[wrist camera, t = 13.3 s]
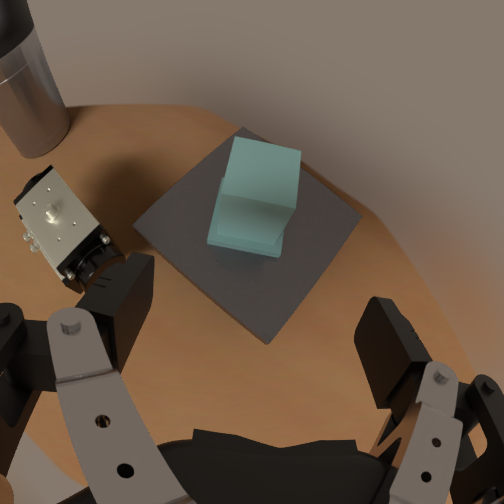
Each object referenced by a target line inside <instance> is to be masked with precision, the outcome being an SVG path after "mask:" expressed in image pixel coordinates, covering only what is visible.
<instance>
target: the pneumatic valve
mask: <svg viewBox="0 0 504 504" xmlns="http://www.w3.org/2000/svg"><path fill="white" fill-rule="evenodd" d="M13 202H14V204H15V206H16V207H17V209H18V211H19V213H20V216H19V217H20V219H21V220H22V222H23V224H24V225H25V227H26V229H27V234H26V233H24V234H23V238H24V239H25V240H26V241H27V242H29V241H30V240H31V239H30V237H31V238H33V240H34V242H33V243H34V245H33V244H31V245H30V249H31V250H32V251H33V252H34V253H36V252H37V251H38V250H37V248H38V249H40V251H41V252H42V253H43V255H44V256H45V258H46V259H47V261H48V262H49V264H50V265H51V267H52V268H53V269H54V271H55V272H56V274H57V275H58V276H59V278H60V279H61V280H62V282H63V283H64V284H65V286H66V287H68V288H70V289H72V290H73V291H75V292H77V293H79V294H81V293H82V292H83V291H84V292H85V293H86V292H87V291H88V290H89V288H90V287H91V286H92V285H93V284H94V282H95V281H96V280H97V278H99V276H100V275H101V274H102V272H103V271H104V270H105V269H106V268H108V267H109V266H111V265H113V264H115V263H121V264H124V263H125V261H126V258H125V255H124V254H123V253H122V251H121V250H120V249H119V247H118V246H117V245H116V243H115V242H114V241H113V239H112V238H111V237H110V235H109V234H108V233H107V231H106V230H105V229H104V228H103V227H102V225H101V224H100V223H99V222H98V221H97V220H96V219H95V217H94V216H93V215H92V214H91V213H90V212H89V210H88V209H87V208H86V207H85V206H84V205H83V203H82V202H81V201H80V200H79V199H78V197H77V196H76V195H75V194H74V193H73V191H72V190H71V189H70V188H69V186H68V185H67V184H66V183H65V181H64V180H63V179H62V178H61V176H60V175H59V174H58V173H57V171H56V170H55V169H54V167H53V166H52V165H50V166H49V167H48V168H46V169H45V170H44V171H43V172H42V173H39V174H37V175H35V176H34V177H33V178H31V179H30V180H29V181H28V183H27V184H26V185H25V187H24V189H23V192H22V193H21V194H20V195H19V196H18V197H17V198H16V199H15V200H14V201H13Z"/></svg>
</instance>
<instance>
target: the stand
mask: <svg viewBox="0 0 504 504" xmlns="http://www.w3.org/2000/svg"><path fill="white" fill-rule="evenodd" d="M235 136H236V137H241V138H246V139H251V140H256V141H261V142H265V141H263V140H262V139H261V138H259V137H258V136H256V135H255V134H253V133H252V132H250V131H249V130H247V129H246V128H244V127H242V128H241V129H240V130H238V131H237V132H236V133H235V134H233V135H232V136H231V137H230V138H228V139H227V140H226V141H225V142H223V143H222V144H221V145H220V146H219V147H217V148H216V149H215V150H214V151H213V152H211V153H210V154H209V155H208V156H207V157H205V158H204V159H203V160H202V161H201V162H200V163H198V164H197V165H196V166H195V167H194V168H193V169H191V170H190V171H189V172H188V173H187V174H186V175H185V176H184V177H182V178H181V179H180V180H179V181H178V182H177V183H176V184H175V185H174V186H172V187H171V188H170V189H169V190H168V191H167V192H166V193H165V194H164V195H163V196H162V197H161V198H159V199H158V200H157V201H156V202H155V203H154V204H153V205H152V206H151V207H150V208H149V209H148V210H147V211H146V212H145V213H144V214H143V215H142V216H141V217H140V218H139V219H138V220H137V221H136V222H135V223H134V224H133V225H132V227H133V229H134V230H135V232H136V233H137V234H138V235H139V236H140V237H141V238H142V239H143V240H144V241H145V242H147V243H148V244H149V245H150V246H151V247H152V248H153V249H154V250H155V251H156V252H157V253H158V254H160V255H161V256H162V257H163V258H164V259H165V260H166V261H167V262H168V263H169V264H171V265H172V266H173V267H174V268H175V269H176V270H177V271H178V272H180V273H181V274H182V275H183V276H184V277H185V278H186V279H187V280H189V281H190V282H191V283H192V284H193V285H194V286H195V287H197V288H198V289H199V290H200V291H201V292H202V293H204V294H205V295H206V296H207V297H208V298H209V299H211V300H212V301H213V302H214V303H215V304H216V305H218V306H219V307H220V308H221V309H222V310H224V311H225V312H226V313H227V314H228V315H230V316H231V317H232V318H233V319H234V320H236V321H237V322H238V323H239V324H240V325H242V326H243V327H244V328H245V329H247V330H248V331H249V332H250V333H251V334H253V335H254V336H255V337H256V338H258V339H259V340H260V341H261V342H263V343H264V344H265V345H266V344H269V343H270V342H271V341H272V340H273V338H274V337H275V336H276V335H277V333H278V332H279V331H280V329H281V328H282V327H283V326H284V324H285V323H286V322H287V320H288V319H289V318H290V317H291V315H292V314H293V313H294V311H295V310H296V309H297V307H298V306H299V305H300V303H301V302H302V301H303V299H304V298H305V297H306V295H307V294H308V293H309V291H310V290H311V289H312V287H313V286H314V285H315V283H316V282H317V280H318V279H319V278H320V276H321V275H322V274H323V272H324V271H325V269H326V268H327V267H328V265H329V264H330V262H331V261H332V260H333V258H334V257H335V255H336V254H337V252H338V251H339V250H340V248H341V247H342V245H343V244H344V242H345V241H346V240H347V238H348V237H349V235H350V234H351V232H352V231H353V229H354V228H355V226H356V225H357V223H358V222H359V220H360V219H361V217H362V216H361V215H360V214H359V213H358V212H357V211H355V210H354V209H353V208H352V207H351V206H349V205H348V204H347V203H346V202H344V201H343V200H342V199H341V198H340V197H338V196H337V195H336V194H335V193H333V192H332V191H331V190H330V189H328V188H327V187H326V186H324V185H323V184H322V183H321V182H319V181H318V180H317V179H315V178H314V177H313V176H312V175H310V174H309V173H308V172H306V171H305V170H304V169H302V168H301V167H300V171H299V182H298V192H297V201H296V209H295V211H294V213H293V214H292V216H291V218H290V219H289V221H288V223H287V224H286V226H285V228H284V235H283V242H282V250H281V255H280V256H279V258H277V257H272V256H266V255H261V254H256V253H251V252H246V251H241V250H236V249H231V248H226V247H221V246H216V245H211V244H207V238H208V234H209V230H210V225H211V221H212V217H213V213H214V208H215V204H216V200H217V196H218V192H219V188H220V184H221V180H222V177H224V178H225V173H226V169H227V165H228V162H229V158H230V154H231V150H232V146H233V142H234V138H235ZM265 143H266V142H265Z"/></svg>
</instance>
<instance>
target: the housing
mask: <svg viewBox="0 0 504 504" xmlns="http://www.w3.org/2000/svg"><path fill="white" fill-rule="evenodd" d="M300 161H301V151H299V150H295V149H291V148H287V147H283V146H278V145H274V144H270V143H265V142H261V141H256V140H251V139H246V138H241V137H236V136H235V138H234V142H233V146H232V150H231V154H230V158H229V162H228V165H227V169H226V173H225V178H224V177H222V180H221V184H220V188H219V192H218V196H217V200H216V204H215V208H214V213H213V217H212V221H211V225H210V230H209V234H208V238H207V244H211V245H216V246H221V247H226V248H231V249H236V250H241V251H246V252H251V253H256V254H261V255H266V256H272V257H277V258H279V256H280V255H281V250H282V242H283V235H284V228H285V226H286V224H287V223H288V221H289V219H290V218H291V216H292V214H293V213H294V211H295V209H296V201H297V192H298V182H299V171H300Z"/></svg>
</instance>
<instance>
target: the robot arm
mask: <svg viewBox="0 0 504 504" xmlns="http://www.w3.org/2000/svg"><path fill="white" fill-rule="evenodd" d="M0 125H1V126H2V128H3V129H4V131H5V132H6V133H7V135H8V136H9V138H10V139H11V141H12V142H13V144H14V145H15V146H16V148H17V149H18V151H19V152H20V153H21V155H23V156H24V157H27V158H35V157H39V156H41V155H43V154H45V153H47V152H49V151H50V150H52V149H53V148H54V147H55V146H57V145H58V144H59V143H60V142H61V140H62V139H63V138H64V136H65V135H66V133H67V131H68V129H69V126H70V117H69V114H68V112H67V110H66V108H65V105H64V103H63V101H62V98H61V96H60V93H59V91H58V88H57V86H56V83H55V81H54V79H53V76H52V73H51V71H50V68H49V66H48V63H47V60H46V57H45V55H44V52H43V49H42V46H41V43H40V41H39V38H38V35H37V32H36V29H35V26H34V23H33V20H32V17H31V14H30V11H29V7H28V4H27V0H0ZM153 281H154V256H151V255H146V254H141V253H137V252H133V253H132V254H131V255H130V256H129V257H128V259H127V260H126V261H125V263H124V264H121V263H115V264H113V265H111V266H109V267H108V268H106V269H105V270H104V271H103V272H102V274H101V275H100V276H99V278H97V280H96V281H95V282H94V284H93V285H92V286H91V287H90V288H89V290H88V291H87V292H86V293H85V295H84V296H83V297H82V298H81V300H80V301H79V302H78V304H77V305H76V306H75V307H70V308H64V309H61V310H58V311H56V312H55V313H53V314H52V315H51V316H50V318H49V319H48V321H37V320H25V319H24V316H23V312H22V310H21V308H20V307H19V306H17V305H16V304H13V303H0V375H1V374H2V375H1V376H0V504H14V503H13V502H14V495H13V490H12V487H11V485H10V483H9V482H8V480H7V479H6V476H7V473H8V470H9V467H10V464H11V462H12V459H13V457H14V454H15V451H16V449H17V446H18V444H19V441H20V439H21V437H22V434H23V432H24V429H25V427H26V425H27V423H28V420H29V418H30V416H31V414H32V411H33V409H34V407H35V405H36V403H37V401H38V399H39V396H40V394H41V392H42V391H49V392H57V394H58V398H59V401H60V405H61V409H62V412H63V416H64V419H65V423H66V426H67V429H68V432H69V435H70V438H71V441H72V444H73V447H74V450H75V453H76V455H77V458H78V461H79V463H80V466H81V468H82V471H83V473H84V476H85V478H86V480H87V483H88V485H89V486H88V487H86V488H85V489H83V490H81V491H79V492H78V493H76V494H74V495H72V496H70V497H69V498H67V499H65V500H63V501H61V502H59V503H57V504H445V503H446V500H447V496H448V493H449V490H450V494H451V498H452V502H453V504H504V395H503V393H502V391H501V389H500V388H499V386H498V384H497V383H496V382H495V381H494V380H493V379H492V378H490V377H488V376H486V375H482V374H481V375H477V376H476V377H475V379H474V380H473V381H472V382H471V384H466V383H462V382H458V378H457V376H456V374H455V373H454V371H453V370H452V369H451V368H450V367H448V366H447V365H445V364H443V363H441V362H437V361H433V360H432V359H431V357H430V355H429V353H428V352H427V350H426V348H425V347H424V345H423V343H422V342H421V340H420V339H419V337H418V335H417V333H416V332H414V331H415V330H414V328H413V327H412V325H411V323H410V322H409V321H408V320H407V319H406V318H405V317H404V316H403V315H402V314H401V313H400V311H399V310H398V308H397V307H396V305H395V304H394V302H393V301H392V300H391V299H388V298H381V297H375V296H374V297H372V298H371V299H370V300H369V302H368V304H367V306H366V309H365V311H364V313H363V315H362V317H361V319H360V321H359V323H358V325H357V328H356V330H355V334H354V343H355V346H356V349H357V352H358V354H359V357H360V360H361V363H362V365H363V368H364V371H365V374H366V377H367V380H368V383H369V385H370V388H371V391H372V394H373V397H374V400H375V403H376V406H377V409H389V408H390V409H391V413H390V414H389V415H388V416H387V418H386V420H385V422H384V424H383V426H382V429H381V431H380V433H379V435H378V437H377V439H376V441H375V443H374V445H373V447H372V449H371V451H370V452H369V454H368V453H365V452H361V451H358V450H357V446H356V441H355V440H319V441H315V442H310V443H306V444H301V445H296V446H291V447H285V448H277V447H273V446H270V445H266V444H263V443H260V442H256V441H253V440H250V439H247V438H244V437H241V436H238V435H232V434H225V433H218V432H211V431H205V430H199V429H194V431H193V437H192V439H189V440H177V441H171V442H167V443H163V444H160V445H157V446H156V445H155V443H154V441H153V439H152V437H151V436H150V434H149V432H148V430H147V428H146V427H145V425H144V423H143V421H142V419H141V417H140V415H139V413H138V411H137V409H136V407H135V405H134V403H133V401H132V399H131V397H130V395H129V393H128V391H127V389H126V386H125V384H124V382H123V380H122V378H121V375H120V374H121V372H122V370H123V367H124V365H125V363H126V360H127V358H128V356H129V354H130V351H131V349H132V347H133V345H134V342H135V340H136V338H137V336H138V334H139V331H140V329H141V327H142V325H143V323H144V321H145V319H146V316H147V314H148V312H149V310H150V307H151V303H152V298H153ZM2 372H3V373H2ZM478 423H480V425H481V427H482V430H483V432H484V434H485V437H486V439H487V448H486V450H485V452H484V453H483V454H482V455H481V456H480V457H479V458H478V459H477V456H476V454H475V451H474V448H473V446H472V443H471V441H470V438H469V436H468V433H469V432H470V431H471V430H472V429H473V428H474V427H475V426H476V425H477V424H478Z"/></svg>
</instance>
